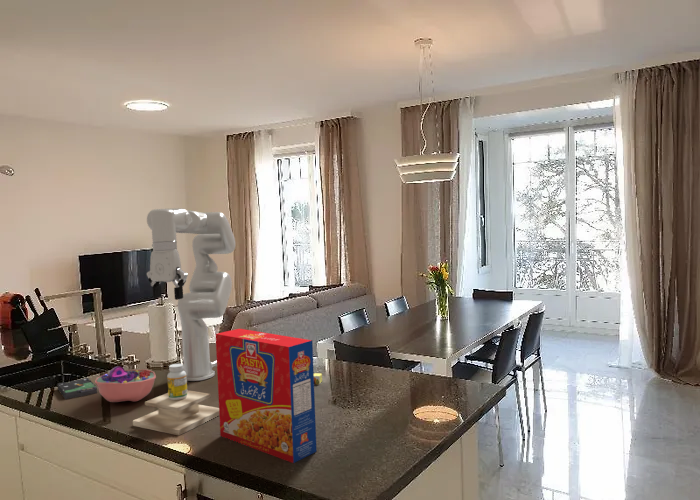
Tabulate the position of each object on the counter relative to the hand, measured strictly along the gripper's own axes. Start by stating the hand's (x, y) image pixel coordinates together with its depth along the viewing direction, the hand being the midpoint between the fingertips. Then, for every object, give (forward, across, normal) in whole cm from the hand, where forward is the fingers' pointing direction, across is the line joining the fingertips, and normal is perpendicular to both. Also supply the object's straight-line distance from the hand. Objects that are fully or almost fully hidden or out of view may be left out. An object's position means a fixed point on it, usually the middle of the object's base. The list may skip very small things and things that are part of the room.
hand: (168, 298), depth 183 cm
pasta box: (+32, +53, -21) cm, 65 cm away
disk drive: (+34, -36, -10) cm, 50 cm away
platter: (+34, +30, +25) cm, 52 cm away
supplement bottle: (+26, +18, -16) cm, 36 cm away
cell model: (+33, -10, -10) cm, 36 cm away
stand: (+32, +19, -17) cm, 41 cm away
